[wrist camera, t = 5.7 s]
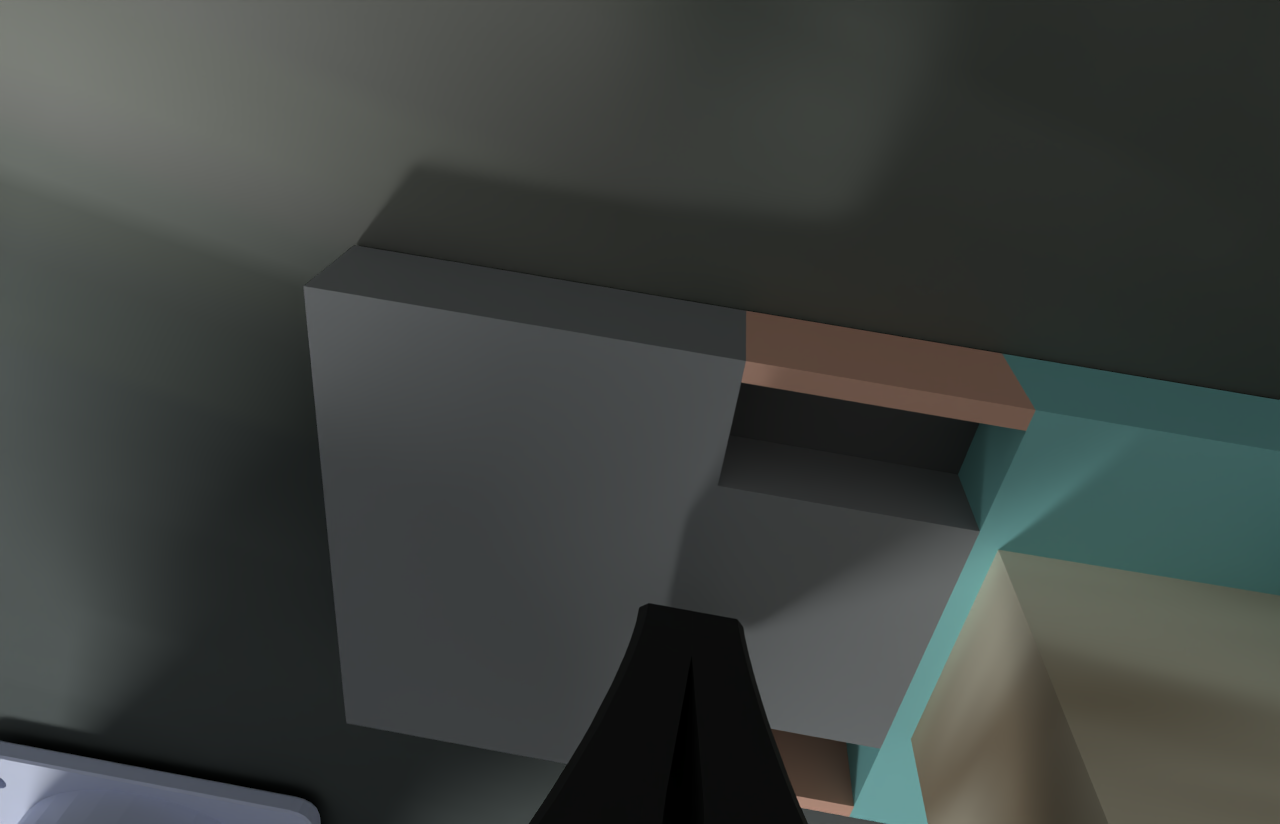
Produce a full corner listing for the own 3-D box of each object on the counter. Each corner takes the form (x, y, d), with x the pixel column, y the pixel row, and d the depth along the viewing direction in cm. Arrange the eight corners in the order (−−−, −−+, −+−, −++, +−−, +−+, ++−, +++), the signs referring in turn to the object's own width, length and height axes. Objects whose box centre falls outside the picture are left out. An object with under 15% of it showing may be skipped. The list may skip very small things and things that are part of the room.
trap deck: (378, 658, 16) (276, 861, 12) (354, 244, 11) (180, 384, 8) (1120, 793, 15) (1229, 1044, 12) (1398, 420, 11) (1700, 647, 7)
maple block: (1165, 782, 13) (1318, 1097, 9) (911, 738, 13) (970, 1032, 9) (1303, 599, 11) (1566, 918, 7) (997, 549, 11) (1114, 839, 7)
